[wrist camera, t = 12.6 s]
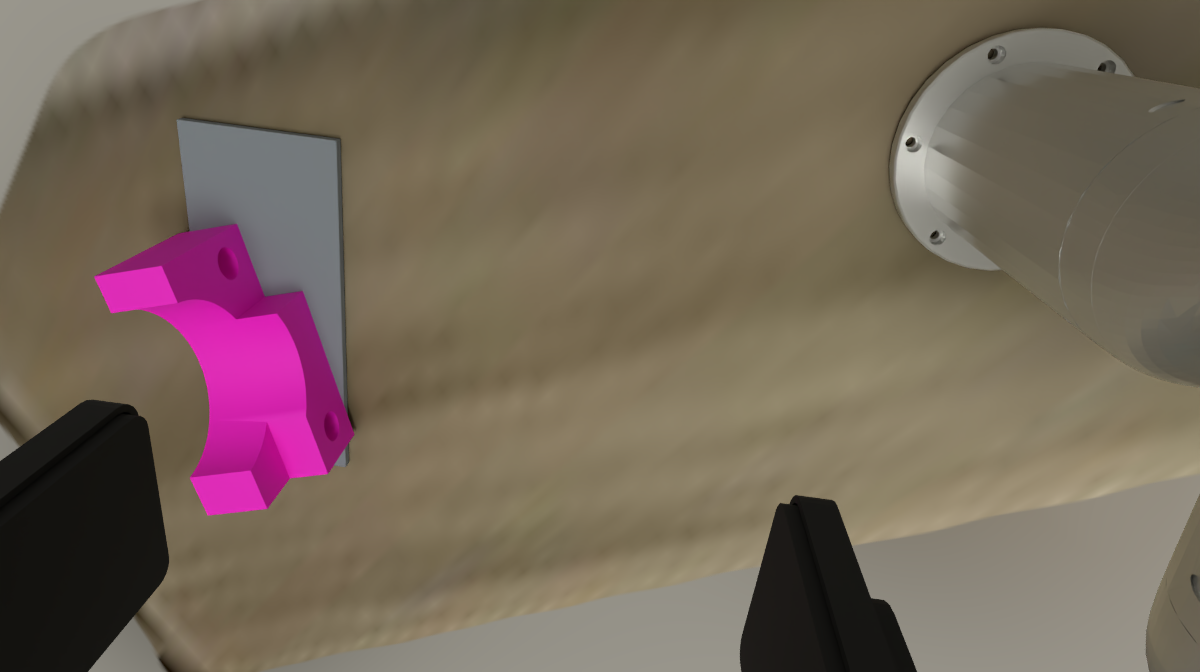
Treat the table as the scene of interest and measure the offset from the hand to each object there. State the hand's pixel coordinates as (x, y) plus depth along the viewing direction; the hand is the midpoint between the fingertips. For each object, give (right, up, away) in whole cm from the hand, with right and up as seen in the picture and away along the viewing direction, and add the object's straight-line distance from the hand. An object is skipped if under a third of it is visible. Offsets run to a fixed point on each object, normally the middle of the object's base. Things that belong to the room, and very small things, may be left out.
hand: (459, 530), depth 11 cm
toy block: (-19, +3, +36) cm, 41 cm away
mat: (-18, +5, +36) cm, 40 cm away
